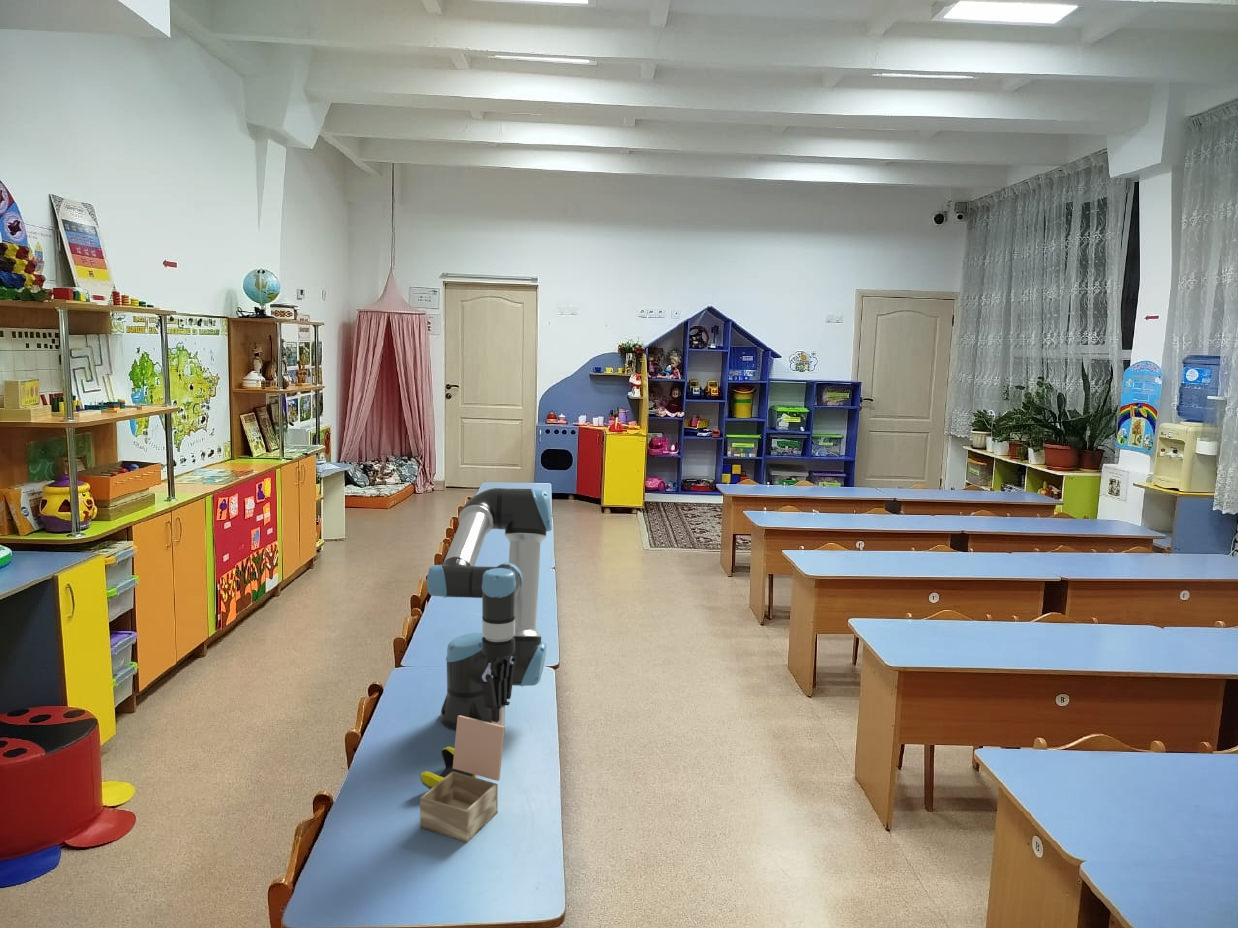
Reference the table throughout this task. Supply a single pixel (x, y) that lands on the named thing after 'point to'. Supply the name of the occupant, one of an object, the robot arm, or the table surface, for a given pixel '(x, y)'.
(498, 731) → the lid
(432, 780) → the gaming controller
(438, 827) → the box
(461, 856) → the table surface
